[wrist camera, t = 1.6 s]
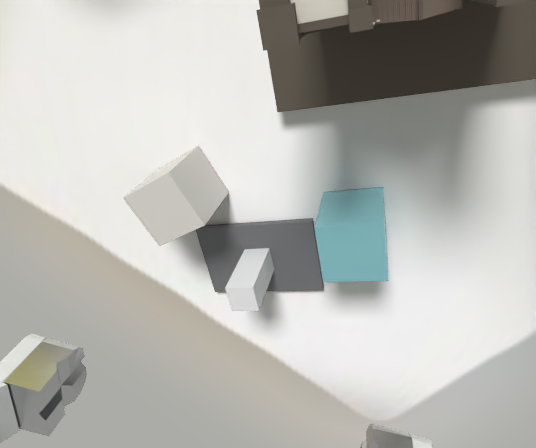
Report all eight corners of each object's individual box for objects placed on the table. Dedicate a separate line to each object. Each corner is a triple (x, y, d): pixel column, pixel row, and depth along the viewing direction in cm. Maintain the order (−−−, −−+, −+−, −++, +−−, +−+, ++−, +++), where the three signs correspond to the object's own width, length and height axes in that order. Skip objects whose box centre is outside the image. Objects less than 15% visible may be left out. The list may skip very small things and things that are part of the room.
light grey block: (198, 145, 38) (168, 172, 33) (229, 192, 40) (204, 225, 34) (158, 168, 41) (123, 198, 35) (188, 212, 42) (159, 246, 37)
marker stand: (312, 218, 39) (301, 259, 33) (323, 286, 43) (315, 334, 37) (197, 226, 43) (168, 264, 37) (216, 288, 46) (193, 332, 40)
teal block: (383, 187, 36) (384, 223, 31) (386, 238, 39) (388, 280, 33) (323, 192, 38) (314, 227, 32) (330, 241, 40) (323, 282, 34)
